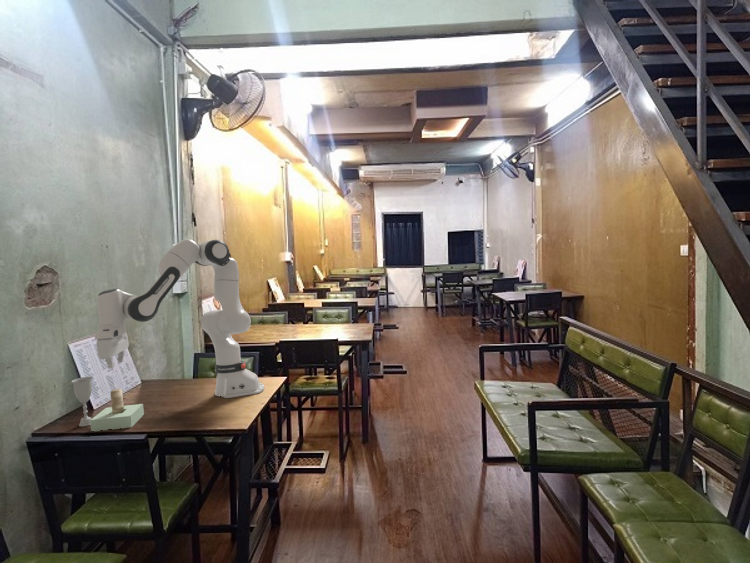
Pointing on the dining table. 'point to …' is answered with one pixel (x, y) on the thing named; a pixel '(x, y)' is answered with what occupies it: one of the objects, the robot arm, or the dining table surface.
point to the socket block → (117, 418)
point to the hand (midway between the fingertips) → (116, 365)
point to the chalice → (83, 396)
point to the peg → (117, 401)
